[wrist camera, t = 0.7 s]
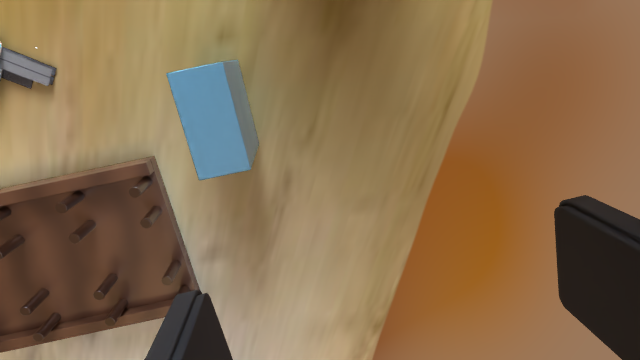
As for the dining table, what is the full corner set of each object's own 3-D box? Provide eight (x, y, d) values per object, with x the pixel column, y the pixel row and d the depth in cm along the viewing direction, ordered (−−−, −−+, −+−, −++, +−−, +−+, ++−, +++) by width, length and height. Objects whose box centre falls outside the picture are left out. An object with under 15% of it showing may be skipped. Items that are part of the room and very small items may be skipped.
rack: (0, 340, 43) (-30, 370, 39) (-73, 204, 38) (-117, 222, 34) (202, 296, 43) (192, 322, 39) (154, 156, 38) (138, 168, 34)
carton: (194, 68, 36) (165, 73, 28) (238, 59, 36) (222, 61, 28) (218, 152, 39) (198, 181, 30) (259, 144, 39) (251, 169, 30)
